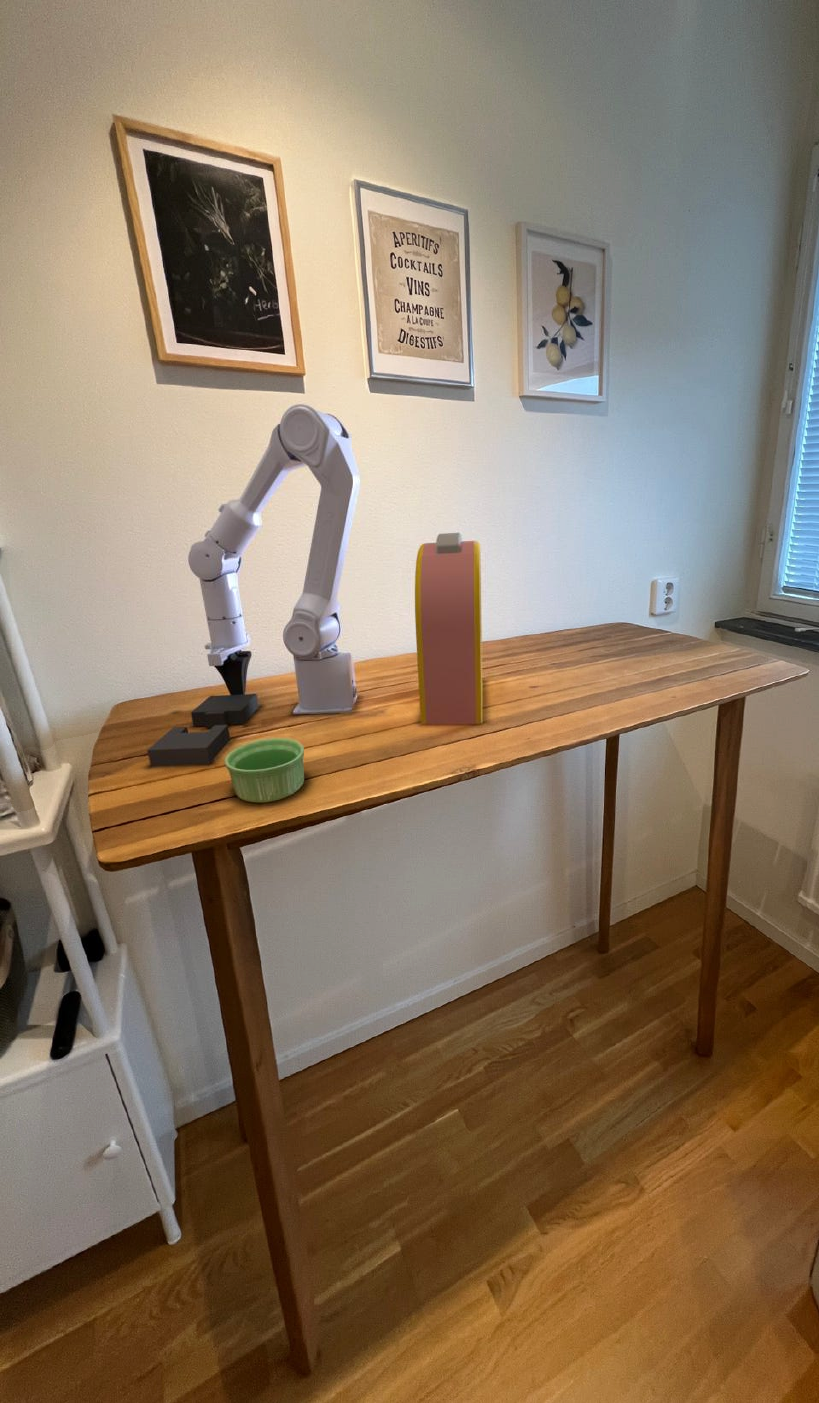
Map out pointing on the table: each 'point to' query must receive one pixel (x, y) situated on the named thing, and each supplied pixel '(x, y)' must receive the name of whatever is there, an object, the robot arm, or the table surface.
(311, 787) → the table surface
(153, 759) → the charcoal pad
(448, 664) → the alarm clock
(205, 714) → the black pad
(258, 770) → the ramekin
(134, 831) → the table surface
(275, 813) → the table surface
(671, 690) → the table surface
